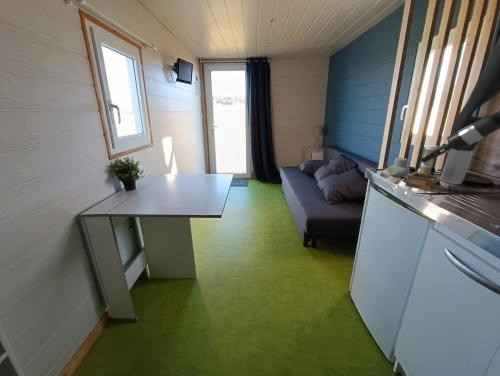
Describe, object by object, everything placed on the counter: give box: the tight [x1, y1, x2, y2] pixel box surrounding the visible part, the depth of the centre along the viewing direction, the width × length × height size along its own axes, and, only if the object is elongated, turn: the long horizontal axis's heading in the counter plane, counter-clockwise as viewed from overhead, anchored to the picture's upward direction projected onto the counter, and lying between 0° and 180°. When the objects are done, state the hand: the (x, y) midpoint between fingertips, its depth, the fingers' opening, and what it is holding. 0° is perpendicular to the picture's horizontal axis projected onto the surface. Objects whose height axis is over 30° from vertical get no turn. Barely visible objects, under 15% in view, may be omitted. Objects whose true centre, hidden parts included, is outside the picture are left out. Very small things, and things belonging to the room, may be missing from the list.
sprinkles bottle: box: [418, 144, 439, 175], centre depth 109 cm, size 5×5×13 cm
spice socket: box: [404, 171, 445, 194], centre depth 112 cm, size 12×13×5 cm
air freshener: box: [386, 157, 411, 178], centre depth 129 cm, size 11×8×10 cm
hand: (423, 160), depth 110 cm, fingers closed on sprinkles bottle, 4 cm apart
